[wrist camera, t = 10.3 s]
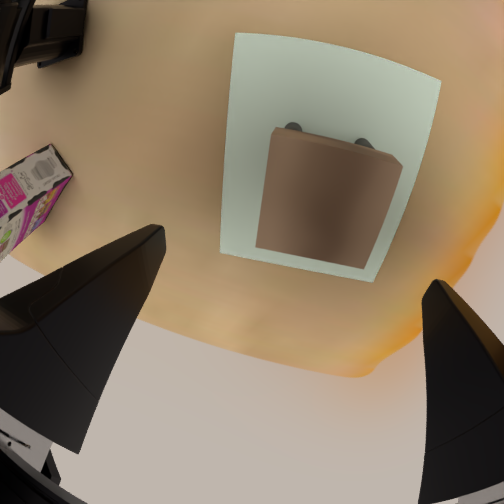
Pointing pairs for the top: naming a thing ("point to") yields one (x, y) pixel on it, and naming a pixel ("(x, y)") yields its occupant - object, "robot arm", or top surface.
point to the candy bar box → (29, 195)
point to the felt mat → (317, 129)
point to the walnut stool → (325, 196)
